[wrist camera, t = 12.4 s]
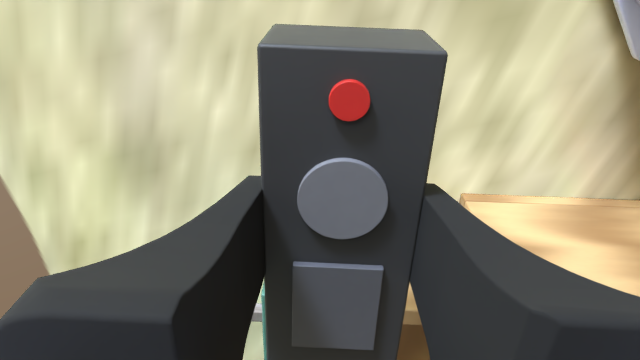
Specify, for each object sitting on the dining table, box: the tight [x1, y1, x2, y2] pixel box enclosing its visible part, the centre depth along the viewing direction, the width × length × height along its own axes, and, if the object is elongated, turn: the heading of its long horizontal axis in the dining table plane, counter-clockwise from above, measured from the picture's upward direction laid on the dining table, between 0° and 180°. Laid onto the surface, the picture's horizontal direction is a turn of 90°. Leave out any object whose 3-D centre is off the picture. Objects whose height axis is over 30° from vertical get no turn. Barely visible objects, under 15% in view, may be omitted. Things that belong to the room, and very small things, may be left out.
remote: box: [257, 24, 448, 360], centre depth 13 cm, size 4×10×3 cm, turn 178°
